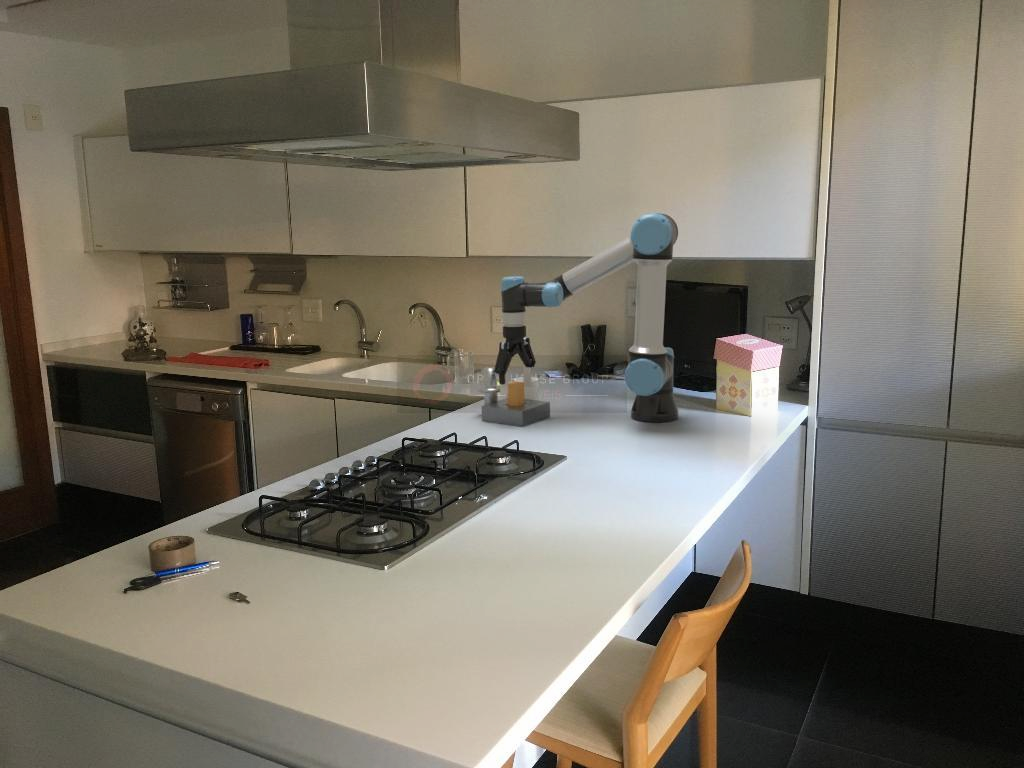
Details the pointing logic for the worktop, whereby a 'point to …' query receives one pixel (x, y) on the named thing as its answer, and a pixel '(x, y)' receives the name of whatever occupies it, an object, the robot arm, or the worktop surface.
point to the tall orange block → (515, 394)
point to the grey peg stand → (507, 413)
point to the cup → (529, 389)
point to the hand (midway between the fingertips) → (516, 390)
